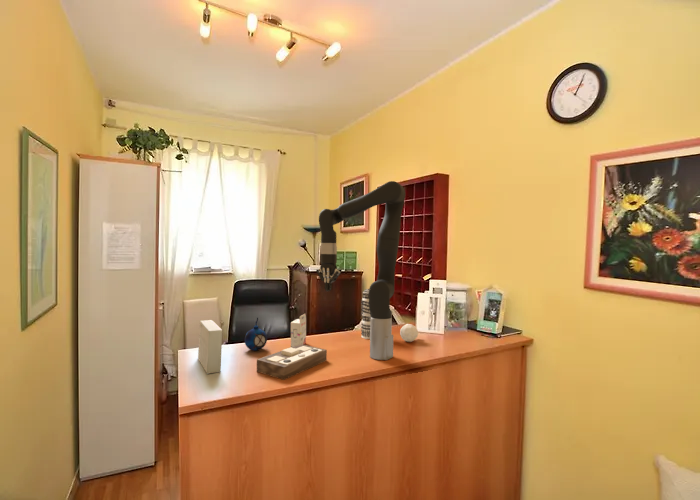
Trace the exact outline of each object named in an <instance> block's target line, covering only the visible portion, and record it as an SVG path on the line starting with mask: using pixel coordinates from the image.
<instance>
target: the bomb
mask: <svg viewBox="0 0 700 500" xmlns="http://www.w3.org/2000/svg"><path fill="white" fill-rule="evenodd" d="M258 322H259V317H256V321H255V325H254V326H253V328H252V329H249V330H248V331H247V332H246V334H245V336H244V345H245V346H246V347H247V349H249V350H251V351H253V352H254V351H260V350H262V349H264V348H265V347H266V344H267V342H268V335H267V333H266V331H264V330H263V329H261V328H259V326H258V325H257V323H258Z"/></svg>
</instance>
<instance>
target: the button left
mask: <svg viewBox="0 0 700 500" xmlns="http://www.w3.org/2000/svg"><path fill="white" fill-rule="evenodd" d="M285 359H286V358H283V357H280V356H274V357H271V358H268V359H266V360H268V361H271V362H275V363H277V362H279V361H282V360H285Z"/></svg>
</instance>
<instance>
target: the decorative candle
mask: <svg viewBox="0 0 700 500" xmlns="http://www.w3.org/2000/svg"><path fill="white" fill-rule="evenodd" d="M360 301H361V302H360V304H361V316H362V320H361V325H360V326H361V329H360V330H361V333H360V334H361V338H362V339H365V340H370V317H371V316H370V310H369V288H365V289H364V290H363V291H362V299H361V300H360Z"/></svg>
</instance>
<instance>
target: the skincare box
mask: <svg viewBox="0 0 700 500" xmlns="http://www.w3.org/2000/svg"><path fill="white" fill-rule="evenodd" d="M222 345H223V329H222V328H221V327H220V326H219V325H218V324H217V323H216V322H215V321H214V320H212V319H209V320H208V319H205V320H199V334H198V352H197V353H198V354H197V359H198V360H199V362H200V364H201V366H202V368H203V369H204V372H205V373H206V374H209V375H210V374H216V373H220V372H221V371H222V367H221V366H222Z"/></svg>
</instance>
